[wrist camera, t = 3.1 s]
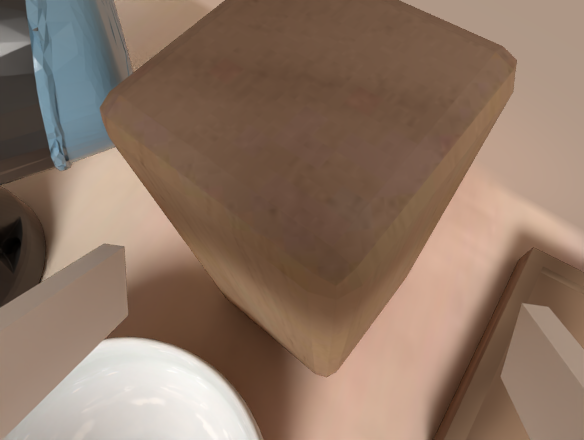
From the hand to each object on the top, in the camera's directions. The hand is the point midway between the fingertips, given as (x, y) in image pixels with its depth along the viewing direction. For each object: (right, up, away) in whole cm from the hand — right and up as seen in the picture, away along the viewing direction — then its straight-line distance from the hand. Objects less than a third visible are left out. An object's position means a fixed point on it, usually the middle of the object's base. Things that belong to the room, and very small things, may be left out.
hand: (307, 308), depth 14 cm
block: (+1, -2, +17) cm, 17 cm away
